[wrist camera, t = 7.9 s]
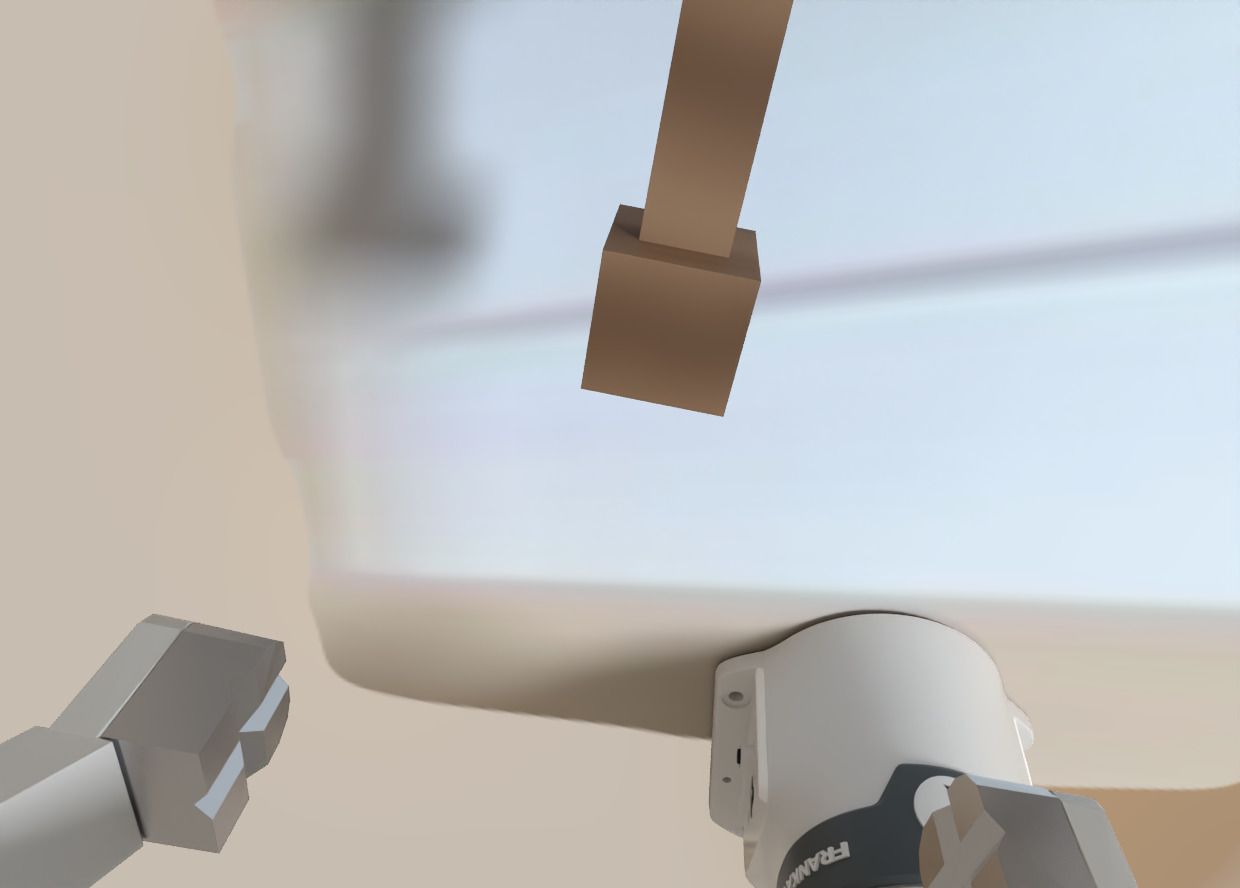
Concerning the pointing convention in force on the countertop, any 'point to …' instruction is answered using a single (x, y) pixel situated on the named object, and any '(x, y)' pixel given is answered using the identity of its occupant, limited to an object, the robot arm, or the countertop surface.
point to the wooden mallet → (691, 220)
